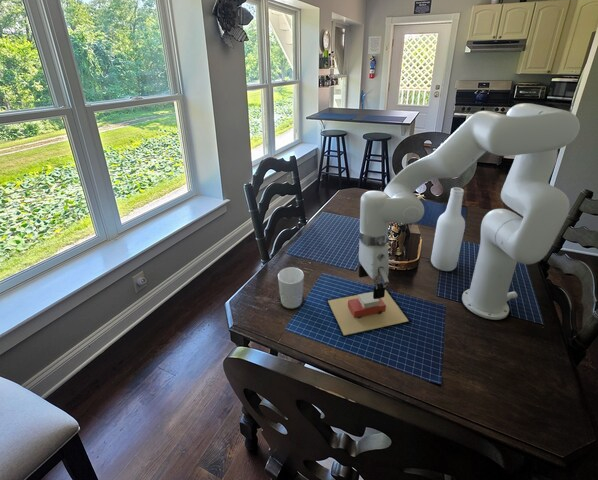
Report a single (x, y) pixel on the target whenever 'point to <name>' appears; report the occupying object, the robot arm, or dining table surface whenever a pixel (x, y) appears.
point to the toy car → (366, 305)
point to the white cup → (291, 287)
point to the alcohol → (449, 233)
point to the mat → (365, 322)
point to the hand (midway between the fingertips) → (370, 286)
